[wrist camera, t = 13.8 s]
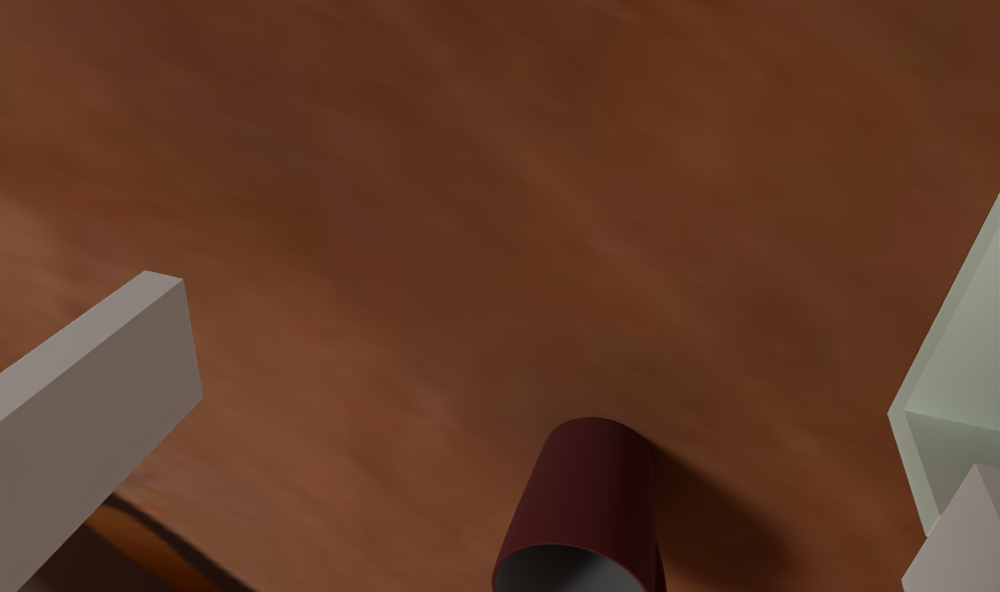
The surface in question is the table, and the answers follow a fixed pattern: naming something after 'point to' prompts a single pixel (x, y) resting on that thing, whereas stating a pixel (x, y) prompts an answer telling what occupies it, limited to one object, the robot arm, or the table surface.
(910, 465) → the holder
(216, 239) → the table surface
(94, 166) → the table surface
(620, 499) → the mug
